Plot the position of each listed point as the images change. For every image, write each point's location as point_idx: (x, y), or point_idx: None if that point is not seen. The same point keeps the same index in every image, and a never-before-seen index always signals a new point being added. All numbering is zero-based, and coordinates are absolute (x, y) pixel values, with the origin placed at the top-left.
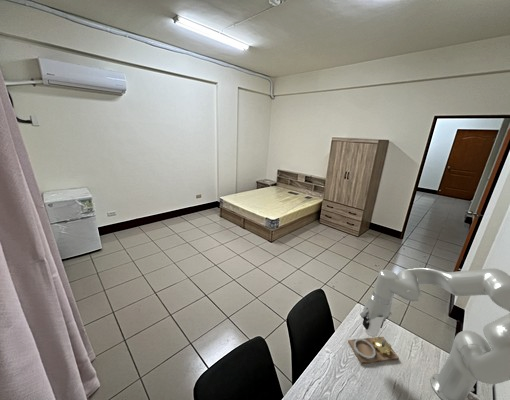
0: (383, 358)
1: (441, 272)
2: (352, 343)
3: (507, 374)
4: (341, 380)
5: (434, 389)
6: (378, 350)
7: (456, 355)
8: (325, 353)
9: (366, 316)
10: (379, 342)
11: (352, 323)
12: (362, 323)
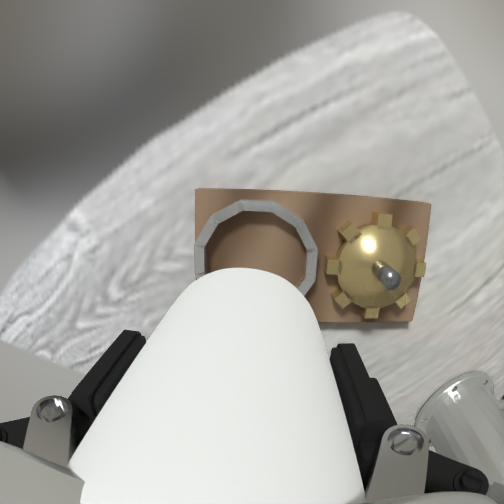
0: (332, 316)
1: None
2: (206, 214)
3: None
4: (91, 340)
5: (421, 413)
6: (337, 280)
7: None
8: (63, 234)
9: (58, 453)
10: (375, 249)
11: (309, 75)
12: (123, 331)
